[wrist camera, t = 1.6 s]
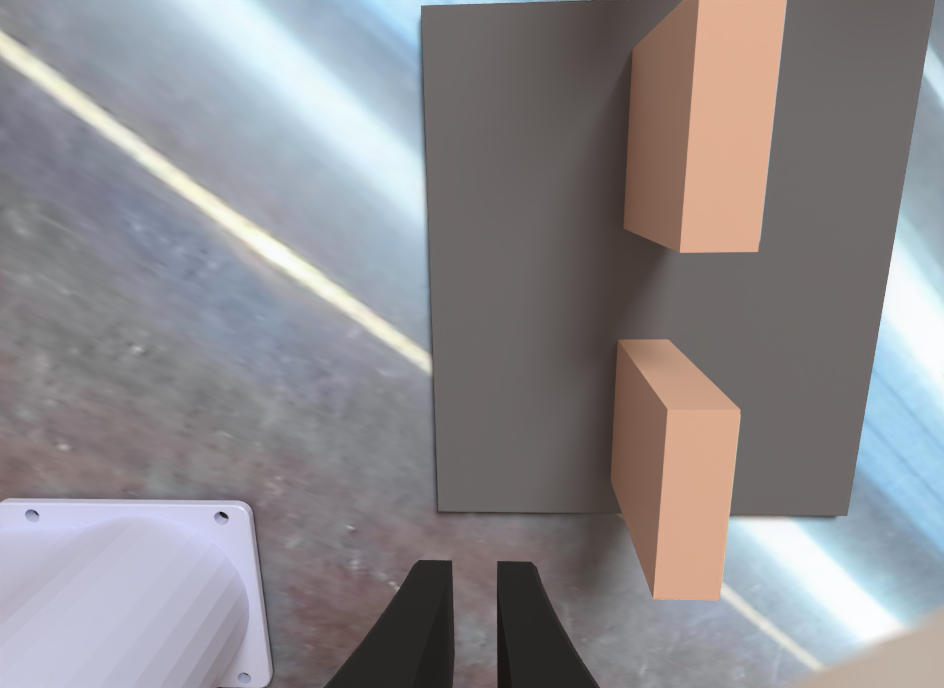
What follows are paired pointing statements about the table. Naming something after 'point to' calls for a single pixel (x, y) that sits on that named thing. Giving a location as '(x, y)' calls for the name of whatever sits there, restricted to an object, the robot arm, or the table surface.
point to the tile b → (703, 125)
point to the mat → (652, 251)
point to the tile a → (673, 467)
